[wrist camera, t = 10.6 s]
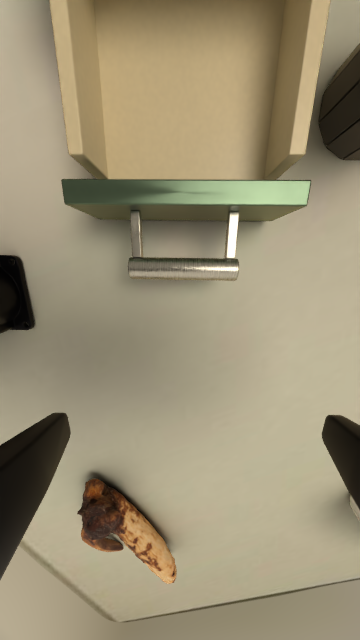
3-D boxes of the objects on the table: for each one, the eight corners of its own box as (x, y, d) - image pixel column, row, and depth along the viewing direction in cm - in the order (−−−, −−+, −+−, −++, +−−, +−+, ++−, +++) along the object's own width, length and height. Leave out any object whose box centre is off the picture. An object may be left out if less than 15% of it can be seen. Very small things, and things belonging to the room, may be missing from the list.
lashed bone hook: (57, 485, 26) (137, 564, 30) (28, 533, 21) (127, 619, 25) (114, 461, 24) (192, 549, 28) (95, 508, 19) (191, 606, 23)
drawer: (264, 277, 16) (293, 284, 12) (104, 274, 17) (74, 280, 12) (306, -33, 11) (384, -221, 7) (75, -28, 12) (7, -204, 7)
